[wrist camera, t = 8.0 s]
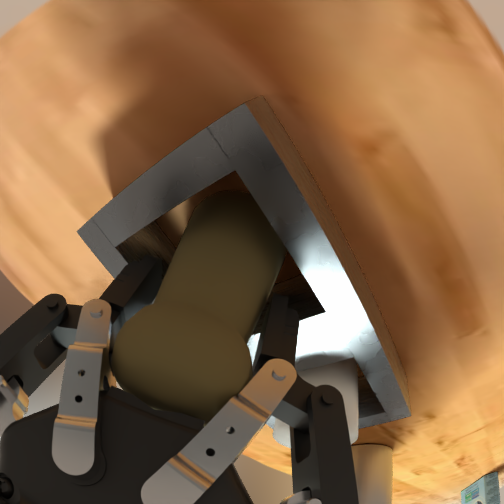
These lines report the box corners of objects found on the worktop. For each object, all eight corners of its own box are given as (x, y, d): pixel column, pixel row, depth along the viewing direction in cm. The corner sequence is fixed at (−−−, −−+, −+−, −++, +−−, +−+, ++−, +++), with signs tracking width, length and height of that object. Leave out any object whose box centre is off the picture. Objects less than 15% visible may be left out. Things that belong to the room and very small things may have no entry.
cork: (250, 170, 16) (156, 329, 7) (308, 256, 18) (289, 440, 9) (169, 221, 18) (62, 362, 9) (227, 291, 20) (170, 443, 11)
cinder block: (406, 376, 22) (411, 415, 19) (292, 404, 27) (286, 439, 24) (262, 95, 13) (244, 103, 10) (113, 200, 18) (76, 231, 15)
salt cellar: (365, 367, 22) (367, 444, 17) (304, 382, 25) (295, 454, 19) (341, 325, 20) (341, 414, 15) (273, 345, 23) (256, 426, 17)
